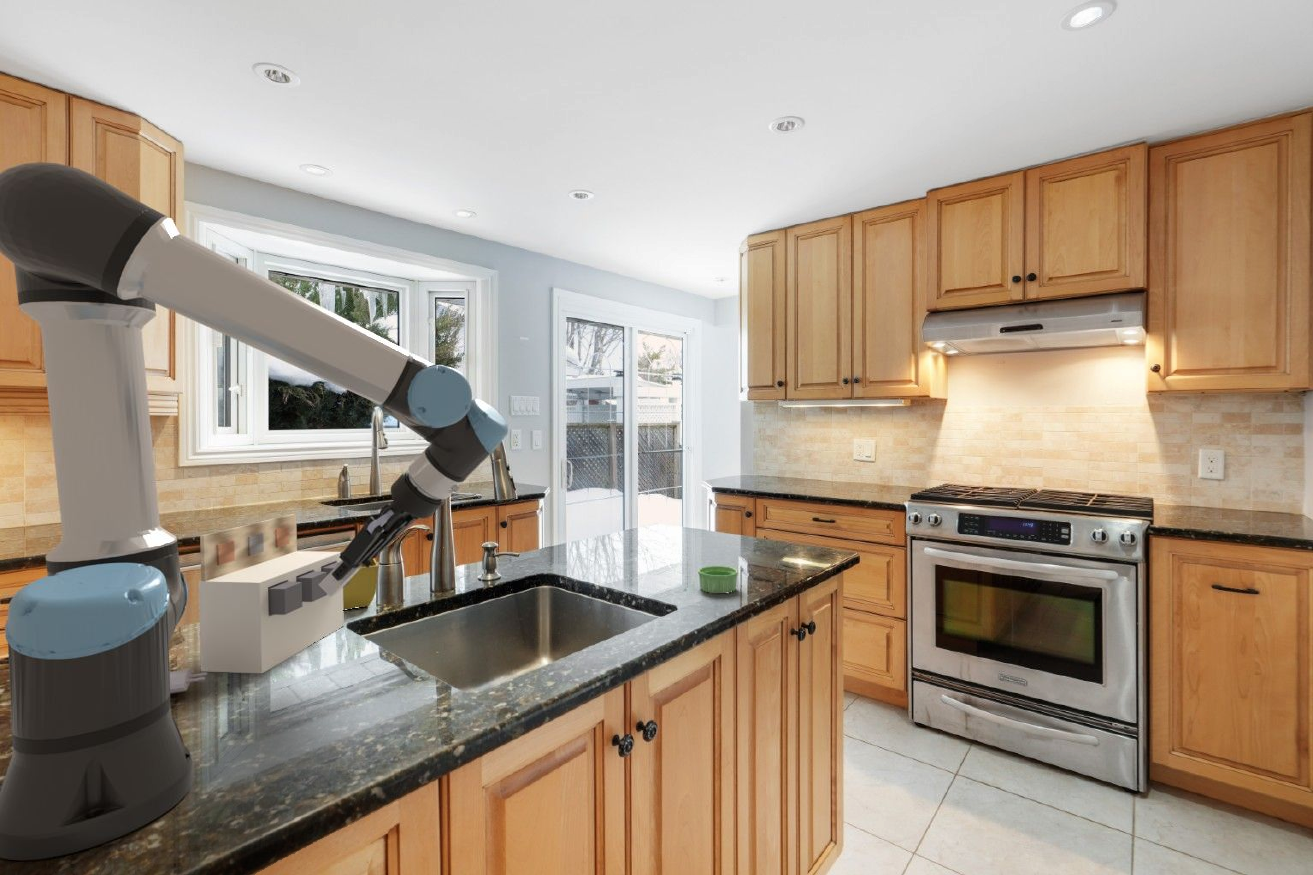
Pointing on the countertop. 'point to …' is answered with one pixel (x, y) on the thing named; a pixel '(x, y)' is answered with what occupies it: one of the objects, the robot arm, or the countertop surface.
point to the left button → (284, 597)
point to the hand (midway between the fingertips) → (327, 589)
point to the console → (262, 615)
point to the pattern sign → (247, 546)
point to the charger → (183, 680)
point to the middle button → (311, 585)
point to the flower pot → (361, 587)
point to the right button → (330, 567)
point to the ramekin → (717, 579)
